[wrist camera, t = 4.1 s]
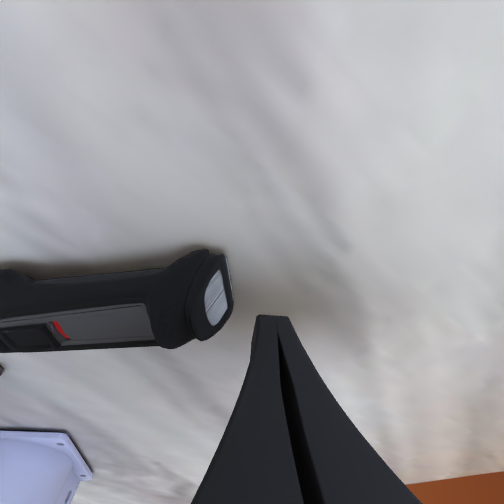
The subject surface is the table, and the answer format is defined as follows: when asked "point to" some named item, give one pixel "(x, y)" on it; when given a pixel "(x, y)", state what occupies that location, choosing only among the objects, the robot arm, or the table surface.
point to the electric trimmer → (117, 307)
